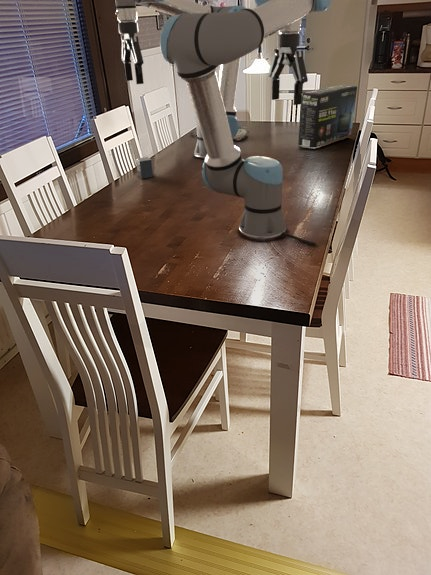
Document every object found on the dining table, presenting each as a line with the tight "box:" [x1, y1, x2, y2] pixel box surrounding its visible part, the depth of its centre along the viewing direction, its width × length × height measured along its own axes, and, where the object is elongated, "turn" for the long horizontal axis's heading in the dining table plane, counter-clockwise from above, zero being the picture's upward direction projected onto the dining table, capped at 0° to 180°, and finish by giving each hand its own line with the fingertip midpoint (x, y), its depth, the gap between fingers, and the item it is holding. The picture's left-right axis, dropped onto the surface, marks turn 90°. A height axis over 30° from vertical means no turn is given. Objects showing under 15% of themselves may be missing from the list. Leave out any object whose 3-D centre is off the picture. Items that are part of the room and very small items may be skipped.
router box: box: [297, 84, 358, 151], centre depth 238 cm, size 36×11×27 cm, turn 134°
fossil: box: [232, 125, 250, 142], centre depth 261 cm, size 18×11×15 cm
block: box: [135, 156, 154, 180], centre depth 204 cm, size 5×5×8 cm
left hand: (134, 82), depth 186 cm, fingers open, 13 cm apart
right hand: (286, 102), depth 162 cm, fingers open, 13 cm apart
